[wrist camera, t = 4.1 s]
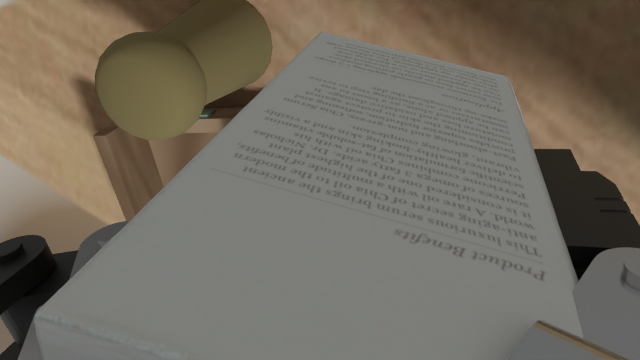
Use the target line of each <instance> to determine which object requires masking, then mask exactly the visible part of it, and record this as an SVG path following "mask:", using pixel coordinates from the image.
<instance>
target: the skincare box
mask: <svg viewBox="0 0 640 360" xmlns="http://www.w3.org/2000/svg"><path fill="white" fill-rule="evenodd" d="M578 282H579V281H578V278H577V275H576V273H575V270H574V267H573V264H572V261H571V258H570V255H569V252H568V249H567V246H566V243H565V241H564V238H563V235H562V232H561V229H560V227H559V223H558V220H557V217H556V214H555V210H554V207H553V204H552V201H551V199H550V196H549V193H548V190H547V187H546V184H545V181H544V179H543V176H542V173H541V170H540V167H539V164H538V161H537V158H536V155H535V152H534V148H533V146H532V143H531V140H530V137H529V134H528V131H527V128H526V125H525V122H524V119H523V116H522V113H521V110H520V108H519V104H518V102H517V99H516V96H515V93H514V90H513V87H512V84H511V82H510V80H509V78H508V77H507V76H504V75H500V74H495V73H490V72H486V71H482V70H478V69H474V68H470V67H466V66H462V65H458V64H454V63H450V62H446V61H442V60H437V59H433V58H429V57H425V56H421V55H417V54H413V53H408V52H404V51H400V50H396V49H392V48H388V47H384V46H379V45H375V44H370V43H366V42H362V41H358V40H354V39H350V38H346V37H342V36H338V35H333V34H330V33H326V32H321V33H320V34H318V35H317V36H316V37H315V38H314V39H313V40H312V41H311V42H310V43H309V44H308V45H307V46H306V47H305V48H304V49H303V50H302V51H301V52H300V53H299V54H298V55H297V56H296V57H295V58H294V59H293V60H292V61H291V62H290V63H289V64H288V65H287V66H286V67H285V68H284V69H283V70H282V71H281V72H280V73H279V74H278V75H277V76H276V77H275V78H274V79H273V80H272V81H271V82H270V83H269V84H268V85H267V86H265V87H264V88H263V90H262V91H261V92H260V93H259V94H258V95H257V96H256V97H254V98H253V99H252V100H251V101H250V102H249V103H248V104H247V105H246V106H245V107H244V108H243V109H242V110H241V111H240V112H239V113H238V114H237V115H236V116H235V117H234V118H233V119H232V120H231V121H230V122H229V123H228V124H227V125H226V126H225V127H224V128H223V129H222V130H221V131H220V132H219V133H218V134H217V135H216V136H215V137H214V138H213V139H212V140H211V141H210V142H209V143H208V144H207V145H206V146H205V147H204V148H203V149H202V150H201V151H200V152H199V153H198V154H197V155H196V156H195V157H194V158H193V159H192V160H191V161H190V162H189V163H188V164H187V165H186V166H185V167H184V168H183V169H182V170H181V171H180V172H179V173H178V174H177V175H176V176H175V177H174V178H173V179H172V180H171V181H170V182H169V183H168V184H167V185H166V186H165V187H164V188H163V189H162V190H161V191H160V192H158V193H157V194H156V195H155V196H154V197H153V198H152V199H151V200H150V201H149V202H148V203H147V204H146V205H145V206H144V207H143V208H142V209H141V210H140V211H139V212H138V213H137V214H136V215H135V216H134V217H133V219H132V220H131V221H130V222H129V223H128V224H127V225H126V226H125V227H124V228H122V229H121V230H120V231H119V232H118V233H117V234H116V235H115V236H114V237H113V238H111V239H110V240H109V241H108V242H107V243H106V244H105V245H104V246H103V247H102V248H101V249H100V250H99V251H98V252H97V253H96V254H95V255H94V256H93V257H92V258H91V259H90V260H89V261H88V262H87V263H86V264H85V265H84V266H83V267H82V268H81V269H80V270H79V271H78V272H77V273H76V274H75V275H74V276H73V277H72V278H71V279H70V280H69V281H68V282H67V283H66V284H65V285H64V286H63V287H62V288H60V289H59V290H58V291H57V292H56V293H55V294H54V295H53V296H52V297H51V298H50V299H49V300H48V301H47V302H46V303H45V304H44V305H43V306H42V307H41V308H40V310H39V311H38V312H37V313H36V314H35V317H34V325H35V330H36V335H37V339H38V342H39V346H40V350H41V353H42V357H43V360H508V359H509V358H510V356H511V355H512V354H513V352H514V351H515V349H516V348H517V346H518V345H519V344H520V342H521V341H522V339H523V338H524V337H525V335H526V334H527V332H528V331H529V330H530V328H531V327H532V326H533V325H534V323H535V322H537V321H538V320H543V321H546V322H548V323H550V324H552V325H554V326H556V327H559V328H561V329H563V330H565V331H567V332H570V333H572V334H574V335H576V336H578V337H581V338H583V333H582V329H581V325H580V321H579V317H578V314H577V310H576V306H575V302H574V298H573V294H572V290H573V289H574V288H575V286H576V285H577V283H578Z"/></svg>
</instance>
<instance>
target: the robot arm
mask: <svg viewBox="0 0 640 360" xmlns="http://www.w3.org/2000/svg"><path fill="white" fill-rule="evenodd" d="M534 152H535V155H536V158H537V161H538V164H539V167H540V170H541V173H542V176H543V179H544V181H545V184H546V187H547V190H548V193H549V196H550V199H551V201H552V204H553V207H554V210H555V214H556V217H557V220H558V223H559V227H560V229H561V232H562V235H563V238H564V241H565V243H566V246H567V249H568V252H569V255H570V258H571V261H572V264H573V267H574V270H575V273H576V275H577V278H578V281H579V282H578V283H577V285H576V286H575V288H574V289H573V290H572V294H573V298H574V302H575V306H576V310H577V314H578V317H579V321H580V325H581V329H582V333H583V338H581V337H578V336H576V335H574V334H572V333H570V332H567V331H565V330H563V329H561V328H559V327H556V326H554V325H552V324H550V323H548V322H546V321H543V320H538V321H537V322H535V323H534V325H533V326H532V327H531V328H530V330H529V331H528V332H527V334H526V335H525V337H524V338H523V339H522V341H521V342H520V344H519V345H518V346H517V348H516V349H515V351H514V352H513V354H512V355H511V356H510V358H509V359H508V360H640V226H639V224H638V222H637V221H636V219H635V217H634V215H633V214H631V210H630V209H629V207H628V205H627V203H626V202H625V201H623V199H624V198H623V197H622V195H621V193H620V192H619V190H618V188H617V186H616V185H615V184H614V183H613V182H611V181H610V180H609V179H607V178H606V177H604V176H603V175H601V174H600V173H598V172H597V171H581V170H580V168H579V166H578V164H577V162H576V160H575V158H574V156H573V154H572V152H571V150H570V149H534ZM129 222H130V221H124V222H119V223H115V224H111V225H108V226H106V227H104V228H101V229H99V230H97V231H96V232H94V233H93V234H91V235H90V236H89V237H87V238H86V239H85V240H84V241H83V242H82V244H81V245H80V247H79V250H77V251H71V252H64V253H58V254H52V253H51V251H50V249H49V247H48V245H47V243H46V241H45V239H44V238H43V237H41V236H38V235H26V236H20V237H16V238H13V239H10V240H7V241H5V242H2V243H0V317H1V319H2V320H3V322H4V324H5V325H6V327H7V328H8V330H9V332H10V333H11V335H12V336H13V338H14V340H15V342H14V343H12V344H11V345H10V346H9V347H8V348H7V349H6V350H5V351H4V352H3V353H2V354H0V360H43V357H42V353H41V350H40V346H39V342H38V339H37V335H36V330H35V325H34V317H35V314H36V313H37V312H38V311H39V310H40V308H41V307H42V306H43V305H44V304H45V303H46V302H47V301H48V300H49V299H50V298H51V297H52V296H53V295H54V294H55V293H56V292H57V291H58V290H59V289H60V288H62V287H63V286H64V285H65V284H66V283H67V282H68V281H69V280H70V279H71V278H72V277H73V276H74V275H75V274H76V273H77V272H78V271H79V270H80V269H81V268H82V267H83V266H84V265H85V264H86V263H87V262H88V261H89V260H90V259H91V258H92V257H93V256H94V255H95V254H96V253H97V252H98V251H99V250H100V249H101V248H102V247H103V246H104V245H105V244H106V243H107V242H108V241H109V240H110V239H111V238H113V237H114V236H115V235H116V234H117V233H118V232H119V231H120V230H121V229H122V228H124V227H125V226H126V225H127V224H128V223H129Z"/></svg>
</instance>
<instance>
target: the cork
mask: <svg viewBox="0 0 640 360" xmlns="http://www.w3.org/2000/svg"><path fill="white" fill-rule="evenodd" d="M271 54H272V41H271V34H270V31H269V29H268V26H267V24H266V22H265V20H264V18H263V17H262V15H261V14H260V13H259V12H258V10H257V9H256V8H255V7H254V6H253V5H252V4H250V3H249V2H247V1H246V0H200V1H199V2H197V3H196V4H195V5H193V6H192V7H191V8H189V9H188V10H187V11H185V12H184V13H183V14H181V15H180V16H179V17H177V18H176V19H175V20H173V21H172V22H171V23H169V24H168V25H167V26H165V27H164V28H163V29H161V30H160V31H159V32H136V33H131V34H128V35H126V36H124V37H122V38H120V39H118V40H116V41H114V42H113V43H112V44H111V45H110V46H109V47H108V48H107V49H106V50H105V51H104V53H103V54H102V55H101V56H100V58H99V62H98V65H97V69H96V73H95V88H96V93H97V96H98V98H99V101H100V104H101V106H102V107H103V109H104V110H105V112H106V114H107V115H108V117H109V118H110V119H111V120H112V121H113V122H114V123H115V124H116V125H117V126H118V127H119V128H121V129H123V130H124V131H126V132H127V133H129V134H131V135H133V136H136V137H139V138H142V139H146V140H167V139H170V138H173V137H175V136H178V135H181V134H183V133H184V132H186V131H187V130H188V129H189V128H190V127H191V126H192V125H193V124H194V123H195V122H197V121H198V119H199V117H200V115H201V113H202V110H203V108H204V106H205V105H206V104H209V103H211V102H213V101H215V100H217V99H219V98H221V97H223V96H225V95H228V94H230V93H232V92H234V91H236V90H238V89H240V88H242V87H244V86H247V85H249V84H251V83H253V82H255V81H256V80H257V79H258V78H259V77H260V76H262V75H263V74H264V72H265V71H266V69H267V67H268V65H269V63H270V60H271Z"/></svg>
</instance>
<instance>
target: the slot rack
mask: <svg viewBox="0 0 640 360" xmlns="http://www.w3.org/2000/svg"><path fill="white" fill-rule="evenodd" d="M243 108H244V107H228V108H203V110H202V113H201V115H200V117H199V119H198V121H197V122H195V123H194V124H193V125H192V126H191V127H190V128H189V129H188V130H187V131H186V132H184V133H183V134H181V135H178V136H175V137H173V138H170V139H167V140H146V139H142V138H139V137H136V136H133V135H131V134H129V133H127V132H126V131H124V130H123V129H121V128H119V127H118V126H117V125H116V124H115V123H112V124H111V125H109V126H108V127H106V128H105V129H103V130H101V131H100V132H98V133H97V134H95V135H94V136H93V137H94V140H95V142H96V145H97V147H98V150H99V152H100V155H101V158H102V160H103V163H104V165H105V168H106V170H107V173H108V175H109V178H110V181H111V183H112V186H113V188H114V191H115V193H116V196H117V198H118V201H119V204H120V206H121V209H122V211H123V214H124V216H125V219H126V221H131V220H132V219H133V217H134V216H135V215H136V214H137V213H138V212H139V211H140V210H141V209H142V208H143V207H144V206H145V205H146V204H147V203H148V202H149V201H150V200H151V199H152V198H153V197H154V196H155V195H156V194H157V193H158V192H160V191H161V190H162V189H163V188H164V187H165V186H166V185H167V184H168V183H169V182H170V181H171V180H172V179H173V178H174V177H175V176H176V175H177V174H178V173H179V172H180V171H181V170H182V169H183V168H184V167H185V166H186V165H187V164H188V163H189V162H190V161H191V160H192V159H193V158H194V157H195V156H196V155H197V154H198V153H199V152H200V151H201V150H202V149H203V148H204V147H205V146H206V145H207V144H208V143H209V142H210V141H211V140H212V139H213V138H214V137H215V136H216V135H217V134H218V133H219V132H220V131H221V130H222V129H223V128H224V127H225V126H226V125H227V124H228V123H229V122H230V121H231V120H232V119H233V118H234V117H235V116H236V115H237V114H238V113H239V112H240V111H241V110H242V109H243Z"/></svg>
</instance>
